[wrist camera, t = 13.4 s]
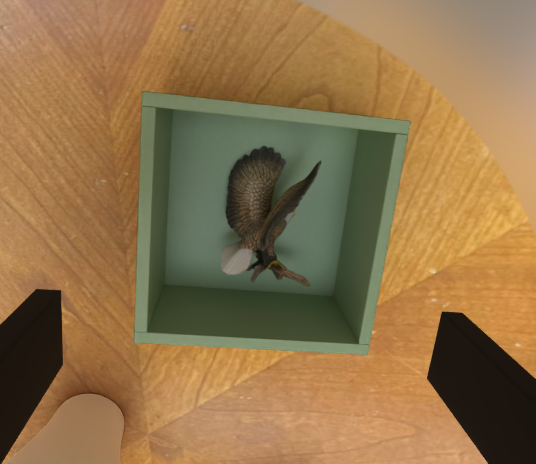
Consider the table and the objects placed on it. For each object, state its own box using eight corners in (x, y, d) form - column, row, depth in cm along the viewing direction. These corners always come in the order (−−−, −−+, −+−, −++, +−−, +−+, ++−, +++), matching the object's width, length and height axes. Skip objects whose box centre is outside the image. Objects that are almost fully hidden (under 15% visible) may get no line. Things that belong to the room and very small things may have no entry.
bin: (164, 94, 33) (141, 90, 25) (367, 116, 35) (411, 120, 27) (155, 289, 37) (133, 343, 29) (338, 301, 39) (368, 355, 31)
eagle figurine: (330, 263, 36) (341, 153, 32) (290, 309, 30) (298, 183, 26) (247, 240, 39) (249, 137, 35) (198, 277, 34) (193, 160, 30)
